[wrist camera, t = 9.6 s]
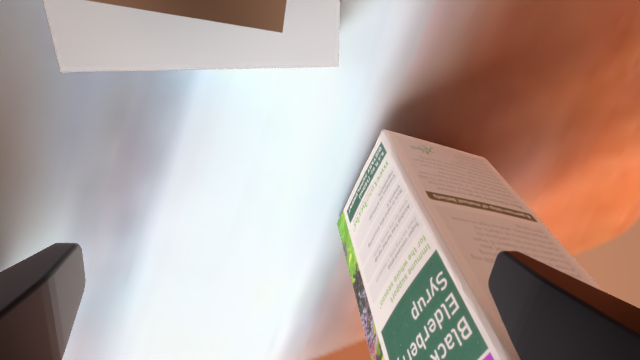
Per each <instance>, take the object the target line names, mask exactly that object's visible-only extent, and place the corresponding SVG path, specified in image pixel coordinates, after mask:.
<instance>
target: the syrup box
mask: <svg viewBox="0 0 640 360" xmlns="http://www.w3.org/2000/svg"><path fill="white" fill-rule="evenodd" d="M337 225H338V229H339V233H340V236H341V240H342V244H343V248H344V252H345V256H346V260H347V264H348V268H349V272H350V276H351V280H352V283H353V287H354V291H355V295H356V299H357V303H358V307H359V312H360V316H361V319H362V323H363V327H364V331H365V335H366V339H367V343H368V347H369V351H370V355H371V359H372V360H520V358H519V356H518V354H517V352H516V350H515V348H514V346H513V344H512V342H511V340H510V337H509V335H508V333H507V330H506V328H505V326H504V323H503V321H502V319H501V316H500V314H499V312H498V310H497V307H496V305H495V303H494V300H493V298H492V296H491V293H490V291H489V287H488V280H489V277H490V274H491V271H492V268H493V265H494V262H495V259H496V257H497V255H498V253H499V252H501V251H518V252H521V253H523V254H525V255H527V256H529V257H531V258H534V259H536V260H538V261H540V262H542V263H544V264H546V265H548V266H551V267H553V268H555V269H557V270H559V271H561V272H563V273H565V274H567V275H570V276H572V277H574V278H576V279H578V280H580V281H582V282H584V283H587V284H589V285H591V286H593V287H595V288H597V289H599V290H601V291H603V290H602V289H601V288H600V287H599V286H598V285H597V283H596V282H595V281H594V280H593V279H592V278H591V276H590V275H589V274H588V273H587V272H586V271H585V270H584V269H583V268H582V267H581V266H580V264H579V263H578V262H577V261H576V260H575V259H574V258H573V257H572V255H571V254H570V253H569V252H568V250H567V249H566V248H565V247H564V246H563V245H562V244H561V243H560V242H559V240H558V239H557V238H556V237H555V236H554V235H553V234H552V233H551V231H550V230H549V229H548V228H547V227H546V226H545V225H544V224H543V223H542V221H541V220H540V219H539V218H538V217H537V216H536V214H535V213H534V212H533V211H532V210H531V209H530V208H529V206H528V205H527V204H526V203H525V202H524V201H523V200H522V198H521V197H520V196H519V195H518V194H517V193H516V192H515V191H514V190H513V188H512V187H511V186H510V185H509V184H508V183H507V182H506V181H505V179H504V178H503V177H502V176H501V175H500V174H499V173H498V171H497V170H496V169H495V168H494V167H493V166H492V165H491V163H490V162H489V161H488V160H487V159H486V158H484V157H481V156H477V155H474V154H470V153H467V152H464V151H460V150H457V149H454V148H450V147H447V146H443V145H440V144H436V143H432V142H429V141H425V140H422V139H418V138H415V137H411V136H407V135H404V134H401V133H397V132H393V131H389V130H386V129H383V130H382V131H381V133H380V135H379V137H378V139H377V142H376V144H375V146H374V148H373V150H372V152H371V154H370V156H369V158H368V160H367V162H366V164H365V166H364V168H363V170H362V172H361V174H360V176H359V178H358V180H357V182H356V184H355V186H354V188H353V190H352V193H351V195H350V197H349V199H348V201H347V203H346V206H345V208H344V210H343V212H342V214H341V217H340V219H339V220H338V223H337ZM603 292H604V291H603Z"/></svg>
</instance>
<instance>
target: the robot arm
mask: <svg viewBox="0 0 640 360" xmlns="http://www.w3.org/2000/svg"><path fill="white" fill-rule="evenodd" d="M488 287H489V291H490V293H491V296H492V298H493V300H494V303H495V305H496V307H497V310H498V312H499V314H500V316H501V319H502V321H503V323H504V326H505V328H506V330H507V333H508V335H509V337H510V340H511V342H512V344H513V346H514V348H515V350H516V352H517V354H518V356H519V358H520V360H640V308H637V307H635V306H633V305H631V304H629V303H627V302H624V301H622V300H620V299H618V298H616V297H614V296H612V295H610V294H608V293H606V292H603V291H601V290H599V289H597V288H595V287H593V286H591V285H589V284H587V283H584V282H582V281H580V280H578V279H576V278H574V277H572V276H570V275H567V274H565V273H563V272H561V271H559V270H557V269H555V268H553V267H551V266H548V265H546V264H544V263H542V262H540V261H538V260H536V259H534V258H531V257H529V256H527V255H525V254H523V253H521V252H518V251H501V252H499V253H498V255H497V257H496V259H495V262H494V265H493V268H492V271H491V274H490V277H489V280H488ZM84 288H85V272H84V263H83V255H82V249H81V247H80V245H79V244H77V243H55V244H53V245H51V246H49V247H47V248H45V249H44V250H42V251H40V252H38V253H36V254H34V255H32V256H30V257H28V258H26V259H25V260H23V261H21V262H19V263H17V264H15V265H13V266H11V267H9V268H8V269H6V270H4V271H2V272H0V360H62V358H63V355H64V352H65V349H66V346H67V343H68V340H69V336H70V333H71V330H72V327H73V324H74V321H75V317H76V314H77V311H78V308H79V305H80V302H81V299H82V295H83V292H84Z"/></svg>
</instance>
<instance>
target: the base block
mask: <svg viewBox="0 0 640 360" xmlns="http://www.w3.org/2000/svg"><path fill="white" fill-rule="evenodd" d="M43 3H44V7H45V11H46V15H47V19H48V23H49V27H50V31H51V35H52V39H53V43H54V48H55V52H56V56H57V60H58V64H59V68H60V72H101V71H151V70H201V69H250V68H300V67H338V61H339V24H340V0H287V2H286V10H285V17H284V25H283V32H282V33H280V32H274V31H268V30H262V29H256V28H250V27H244V26H238V25H232V24H226V23H220V22H214V21H208V20H202V19H196V18H190V17H184V16H177V15H171V14H165V13H159V12H153V11H147V10H141V9H135V8H129V7H123V6H117V5H111V4H105V3H99V2H93V1H87V0H43Z"/></svg>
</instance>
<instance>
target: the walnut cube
mask: <svg viewBox="0 0 640 360" xmlns="http://www.w3.org/2000/svg"><path fill="white" fill-rule="evenodd" d="M87 1H93V2H99V3H105V4H111V5H117V6H123V7H129V8H135V9H141V10H147V11H153V12H159V13H165V14H171V15H177V16H184V17H190V18H196V19H202V20H208V21H214V22H220V23H226V24H232V25H238V26H244V27H250V28H256V29H262V30H268V31H274V32H280V33H282V32H283V25H284V17H285V10H286V2H287V0H87Z"/></svg>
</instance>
